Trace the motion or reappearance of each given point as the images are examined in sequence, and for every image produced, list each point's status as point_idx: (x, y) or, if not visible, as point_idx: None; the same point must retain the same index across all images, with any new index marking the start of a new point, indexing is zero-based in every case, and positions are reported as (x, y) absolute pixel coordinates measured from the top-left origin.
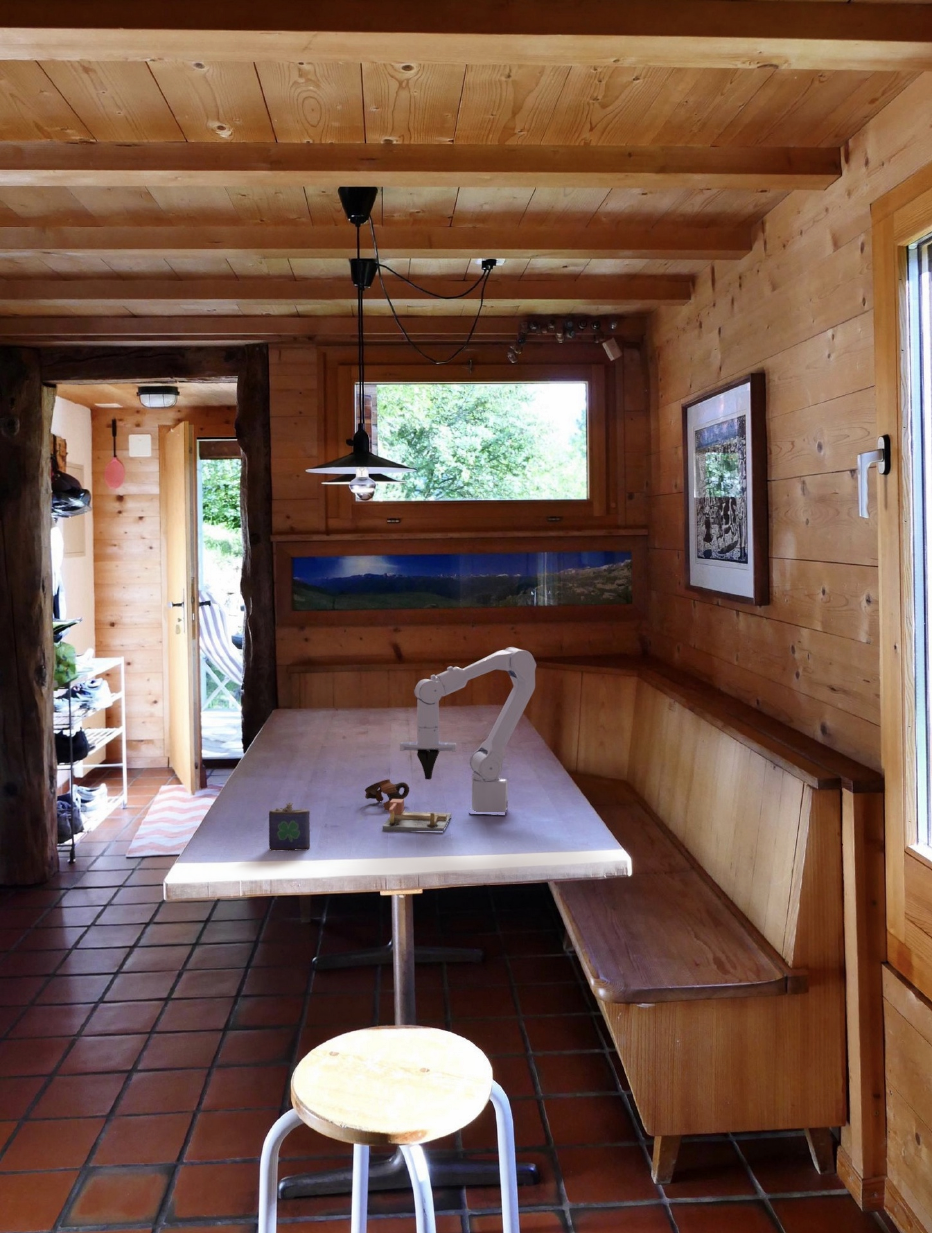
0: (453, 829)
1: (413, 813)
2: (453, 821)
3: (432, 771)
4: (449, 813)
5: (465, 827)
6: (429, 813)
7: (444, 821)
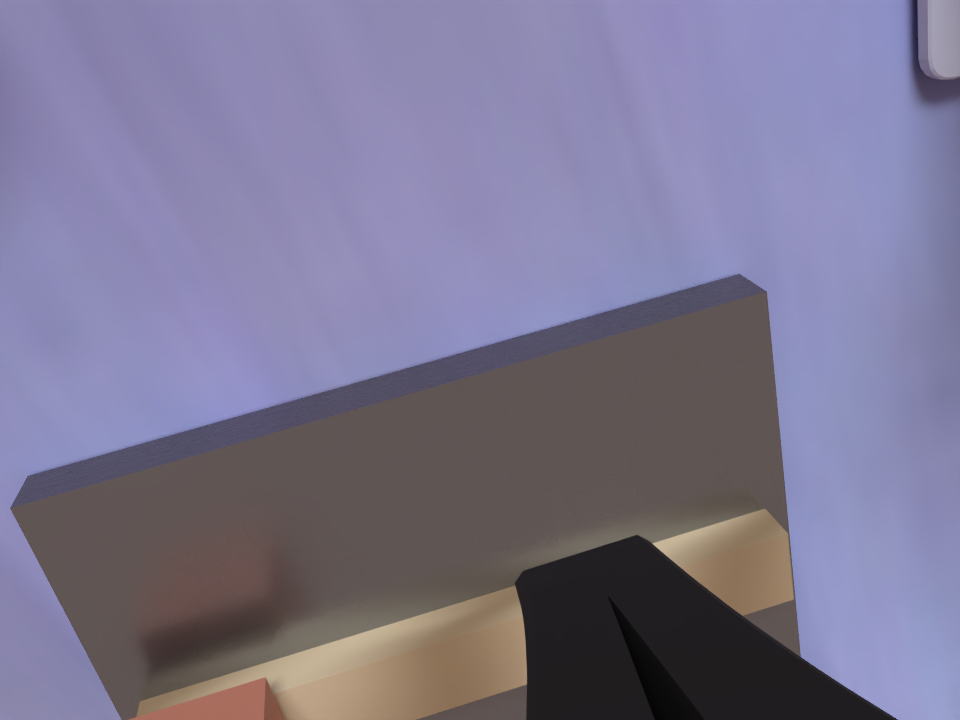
0: (847, 620)
1: (404, 660)
2: (791, 394)
3: (732, 616)
4: (746, 318)
5: (941, 524)
6: (510, 416)
7: (769, 609)
